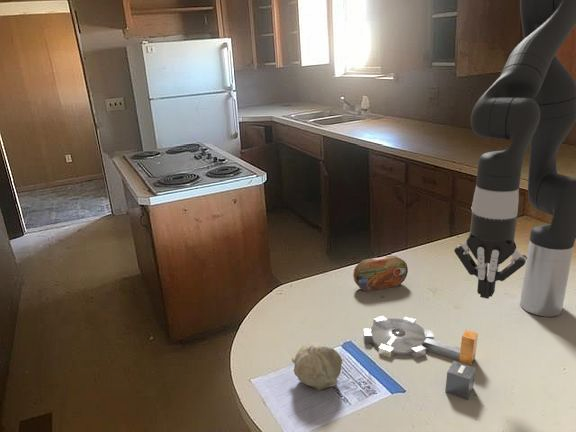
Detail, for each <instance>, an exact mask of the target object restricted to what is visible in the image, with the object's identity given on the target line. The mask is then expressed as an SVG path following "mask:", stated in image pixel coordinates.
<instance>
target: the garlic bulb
mask: <svg viewBox="0 0 576 432" xmlns="http://www.w3.org/2000/svg"><path fill="white" fill-rule="evenodd" d="M291 362H292V364H294V368H293V372H294V375H295V376H296V377H297V379H298V380H299V382H301V383H304V384H305V385H307V386H310V387H311V388H313V389H316V390H318V391H321V390H323V389H326V388H330V387H334V386H336V385H337V384H338V380H337V379H338V377H339V376H340V374H341V372H342V363H343V359H342V356H341V354H340V353H339V352H338V351H337V350H335V349H334V348H333V347H331V346H327V345H325V344H324V343H322V342H318V341H311V342H307V343H305V344H302V345H301V347H300V348H299V350H298V351H297V353H296V355H295V358H294V357H292V358H291Z"/></svg>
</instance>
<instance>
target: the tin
mask: <svg viewBox="0 0 576 432" xmlns="http://www.w3.org/2000/svg"><path fill="white" fill-rule="evenodd" d="M408 270H409V268H408V265H407V263H406V261H405V260H404V259H402V258H400V257H398V256H396V255H386V256H381V257H373V258H367V259H363V260H361V261H359V263H358V264H356V266H355V267H354V269H353V273H352V274H353V281H354V283H355V284H356V285H357V287H359V289H360V290H362V291H364V292H372V291H378V290H384V289H390V288H395V287H398V286H400V285H401V284H402V283H403V282H404V281H405V280H406V279H407V277H408Z"/></svg>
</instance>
